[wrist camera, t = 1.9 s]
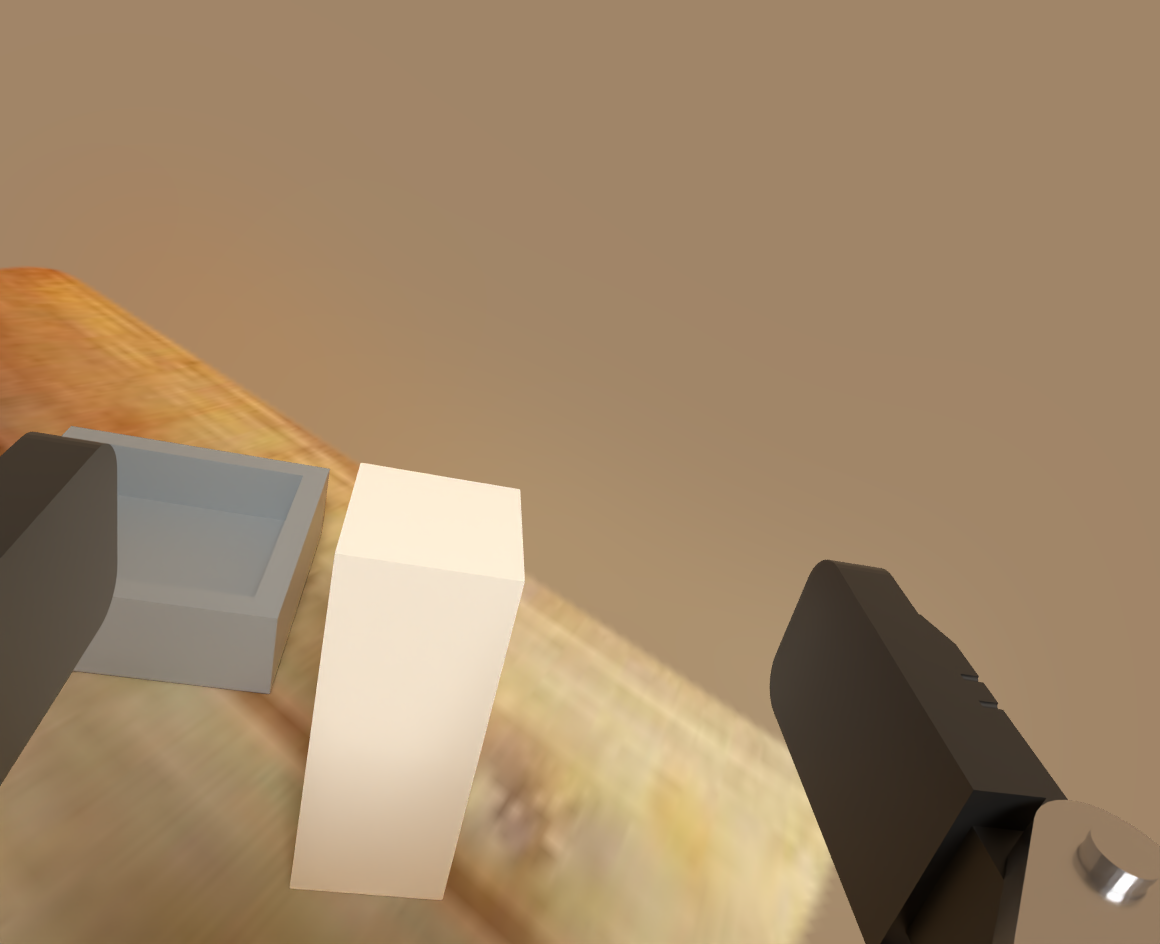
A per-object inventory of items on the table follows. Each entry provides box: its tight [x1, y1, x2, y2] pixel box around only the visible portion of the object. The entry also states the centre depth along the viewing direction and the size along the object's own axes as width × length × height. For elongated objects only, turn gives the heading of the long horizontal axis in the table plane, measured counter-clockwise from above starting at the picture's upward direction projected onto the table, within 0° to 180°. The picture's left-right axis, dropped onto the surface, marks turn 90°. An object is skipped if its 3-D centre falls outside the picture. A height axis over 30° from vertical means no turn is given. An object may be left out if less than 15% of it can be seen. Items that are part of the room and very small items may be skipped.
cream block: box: [290, 463, 525, 900], centre depth 25 cm, size 4×4×12 cm
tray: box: [62, 426, 330, 694], centre depth 35 cm, size 11×11×4 cm
